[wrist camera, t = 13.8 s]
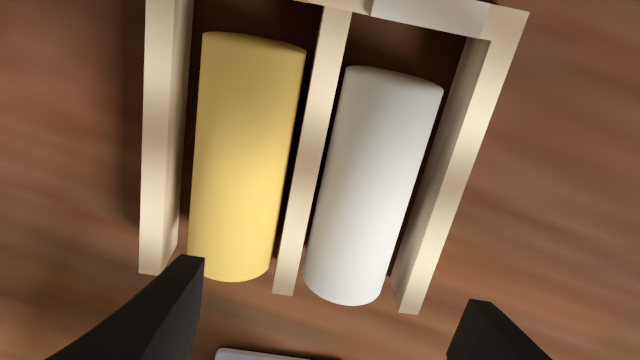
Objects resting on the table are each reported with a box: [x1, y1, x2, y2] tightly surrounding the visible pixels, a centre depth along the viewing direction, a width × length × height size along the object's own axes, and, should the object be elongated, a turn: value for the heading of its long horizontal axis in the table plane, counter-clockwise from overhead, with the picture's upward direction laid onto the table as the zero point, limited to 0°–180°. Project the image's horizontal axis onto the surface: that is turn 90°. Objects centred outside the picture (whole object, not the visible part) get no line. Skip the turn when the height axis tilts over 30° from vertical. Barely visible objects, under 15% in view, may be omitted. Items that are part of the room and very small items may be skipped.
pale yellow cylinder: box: [187, 31, 307, 282], centre depth 19 cm, size 10×4×4 cm, turn 169°
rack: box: [139, 0, 530, 315], centre depth 19 cm, size 14×14×3 cm
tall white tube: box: [302, 65, 444, 306], centre depth 20 cm, size 10×4×4 cm, turn 169°
